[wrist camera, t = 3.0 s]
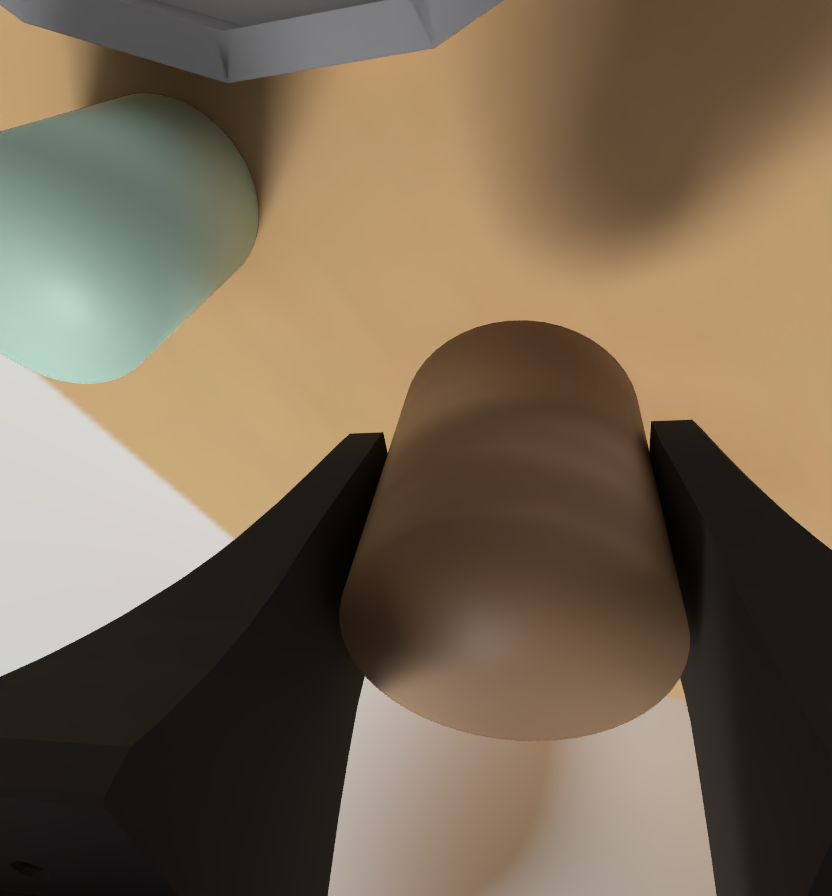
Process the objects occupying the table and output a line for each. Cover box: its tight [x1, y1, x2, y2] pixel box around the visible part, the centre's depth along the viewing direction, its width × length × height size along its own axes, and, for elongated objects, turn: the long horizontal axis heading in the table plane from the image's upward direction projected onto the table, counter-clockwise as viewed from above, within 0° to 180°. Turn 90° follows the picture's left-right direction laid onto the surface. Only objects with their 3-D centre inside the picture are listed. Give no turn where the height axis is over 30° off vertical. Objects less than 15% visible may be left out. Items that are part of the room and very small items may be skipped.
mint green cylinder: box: [0, 93, 259, 384], centre depth 13 cm, size 4×4×5 cm
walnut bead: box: [339, 321, 690, 741], centre depth 10 cm, size 4×4×5 cm
